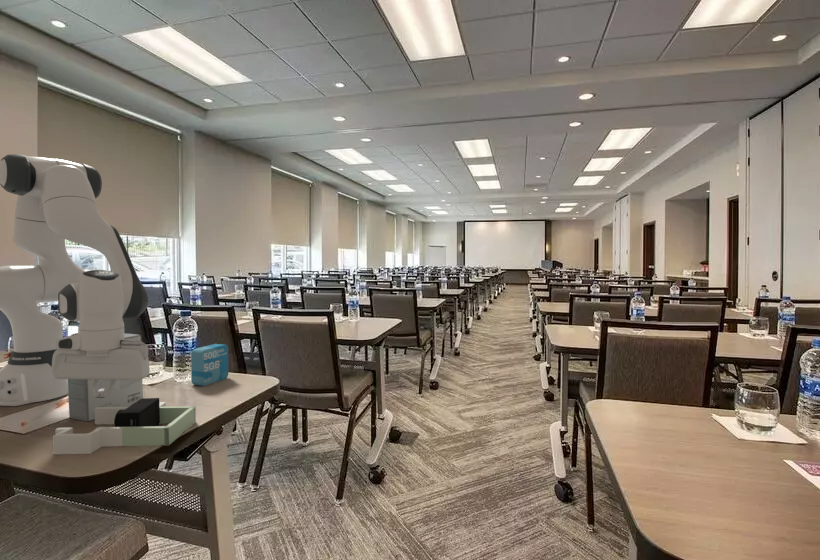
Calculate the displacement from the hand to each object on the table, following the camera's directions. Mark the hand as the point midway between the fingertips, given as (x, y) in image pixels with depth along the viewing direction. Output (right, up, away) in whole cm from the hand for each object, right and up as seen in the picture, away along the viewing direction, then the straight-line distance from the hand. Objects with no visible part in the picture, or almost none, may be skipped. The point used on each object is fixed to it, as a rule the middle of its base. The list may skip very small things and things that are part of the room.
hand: (102, 397), depth 101 cm
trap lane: (+7, -9, 0) cm, 11 cm away
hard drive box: (-10, -8, +15) cm, 20 cm away
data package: (+5, -7, +43) cm, 44 cm away
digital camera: (+8, -9, +1) cm, 12 cm away
